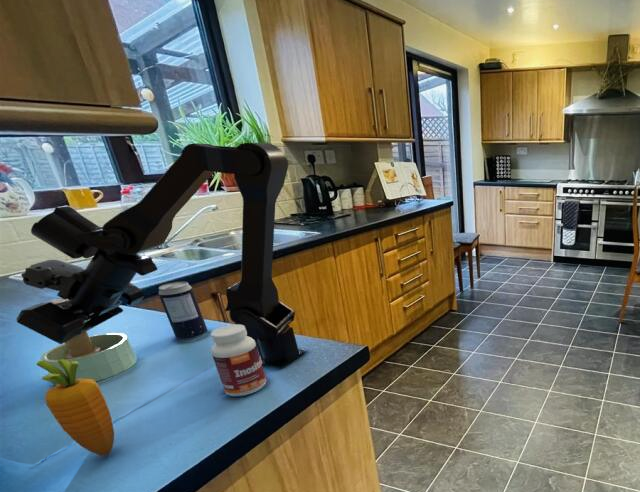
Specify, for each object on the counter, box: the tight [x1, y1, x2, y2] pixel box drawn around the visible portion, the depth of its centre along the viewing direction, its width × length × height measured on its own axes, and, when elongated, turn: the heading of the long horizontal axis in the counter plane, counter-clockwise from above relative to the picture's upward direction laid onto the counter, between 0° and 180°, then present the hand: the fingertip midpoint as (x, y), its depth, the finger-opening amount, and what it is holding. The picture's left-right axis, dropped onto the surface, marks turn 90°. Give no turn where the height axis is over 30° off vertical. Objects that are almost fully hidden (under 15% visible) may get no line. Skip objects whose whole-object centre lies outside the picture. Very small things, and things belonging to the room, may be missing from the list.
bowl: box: [40, 332, 138, 386], centre depth 74 cm, size 11×11×6 cm
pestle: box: [47, 297, 103, 360], centre depth 72 cm, size 5×5×13 cm
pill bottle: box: [210, 323, 267, 397], centre depth 67 cm, size 6×6×11 cm
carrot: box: [36, 359, 115, 457], centre depth 51 cm, size 5×5×15 cm
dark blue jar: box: [158, 281, 208, 341], centre depth 86 cm, size 6×6×12 cm
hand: (67, 337), depth 72 cm, fingers closed on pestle, 3 cm apart
